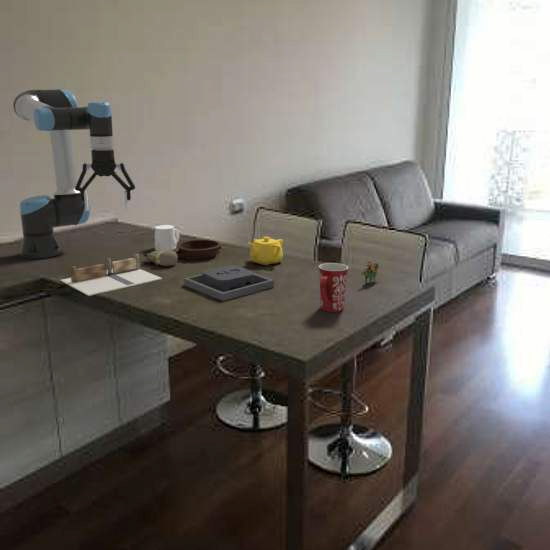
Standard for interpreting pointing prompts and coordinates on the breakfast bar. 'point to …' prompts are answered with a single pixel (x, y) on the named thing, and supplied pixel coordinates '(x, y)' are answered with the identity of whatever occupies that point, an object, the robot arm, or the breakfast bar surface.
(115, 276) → the card
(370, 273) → the figurine
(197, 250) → the dish
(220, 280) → the streaming box
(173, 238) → the mug
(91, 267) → the bar
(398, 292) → the breakfast bar surface
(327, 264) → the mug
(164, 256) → the toy
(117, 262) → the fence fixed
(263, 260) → the teapot
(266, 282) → the speaker coaster
